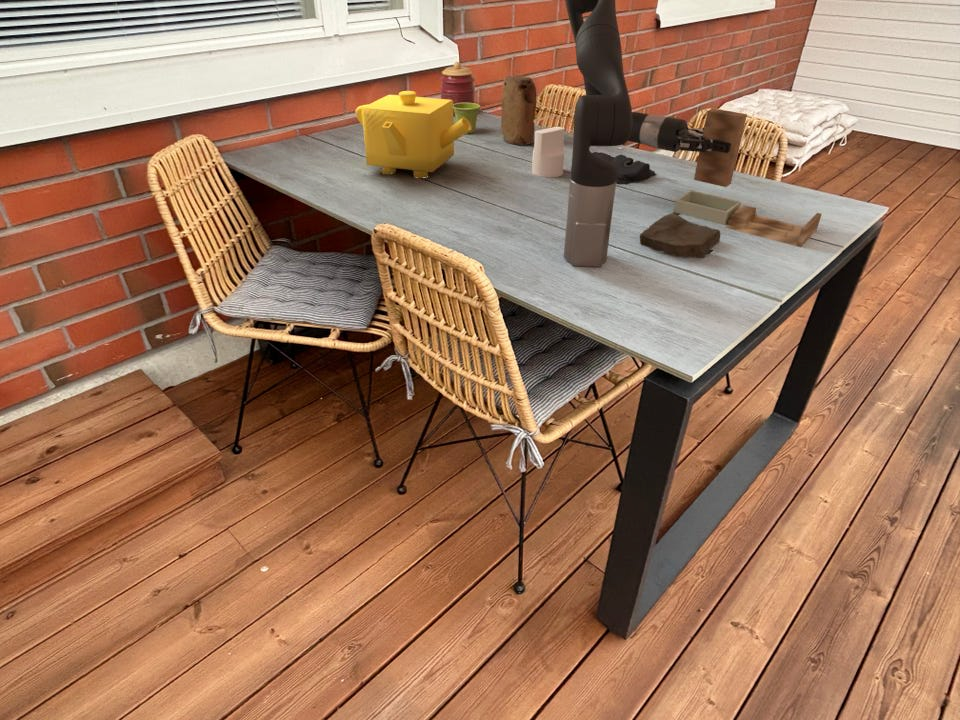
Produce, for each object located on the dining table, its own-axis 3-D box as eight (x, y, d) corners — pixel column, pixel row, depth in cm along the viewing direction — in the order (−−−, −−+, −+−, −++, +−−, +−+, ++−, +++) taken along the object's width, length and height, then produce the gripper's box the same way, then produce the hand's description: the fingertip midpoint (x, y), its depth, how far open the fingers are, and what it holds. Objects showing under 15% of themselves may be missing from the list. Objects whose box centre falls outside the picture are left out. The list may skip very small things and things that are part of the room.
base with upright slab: (545, 179, 182) (548, 136, 176) (525, 171, 188) (527, 128, 182) (569, 173, 187) (572, 130, 180) (548, 165, 193) (551, 124, 186)
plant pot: (468, 126, 228) (468, 101, 223) (485, 132, 222) (485, 106, 217) (447, 131, 223) (446, 105, 218) (464, 137, 217) (464, 110, 212)
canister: (457, 118, 238) (457, 66, 228) (433, 112, 245) (431, 61, 235) (481, 112, 246) (482, 61, 236) (457, 106, 253) (457, 57, 243)
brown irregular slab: (667, 226, 156) (670, 209, 153) (726, 243, 148) (730, 225, 145) (632, 247, 145) (634, 230, 143) (693, 267, 137) (697, 249, 135)
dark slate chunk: (604, 158, 200) (606, 143, 197) (659, 177, 186) (662, 161, 183) (568, 167, 192) (569, 151, 190) (623, 188, 178) (625, 171, 175)
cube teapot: (335, 179, 182) (325, 99, 170) (381, 149, 205) (375, 78, 193) (451, 193, 172) (449, 110, 160) (486, 161, 196) (487, 86, 184)
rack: (723, 231, 152) (728, 211, 150) (741, 216, 160) (746, 196, 157) (799, 251, 143) (806, 229, 141) (815, 234, 151) (821, 213, 148)
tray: (672, 215, 160) (675, 200, 158) (687, 205, 166) (690, 190, 164) (723, 228, 154) (727, 212, 151) (737, 217, 159) (741, 201, 157)
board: (693, 179, 156) (707, 110, 147) (698, 176, 158) (712, 108, 149) (726, 187, 152) (742, 116, 143) (730, 183, 154) (747, 114, 145)
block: (498, 140, 214) (499, 75, 203) (514, 136, 218) (517, 72, 207) (521, 147, 207) (524, 81, 196) (537, 143, 211) (541, 78, 200)
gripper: (652, 122, 151) (724, 136, 142) (678, 111, 160) (747, 123, 151) (647, 155, 155) (717, 170, 146) (672, 141, 164) (740, 155, 155)
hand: (732, 146), depth 148 cm, fingers closed on board, 3 cm apart
